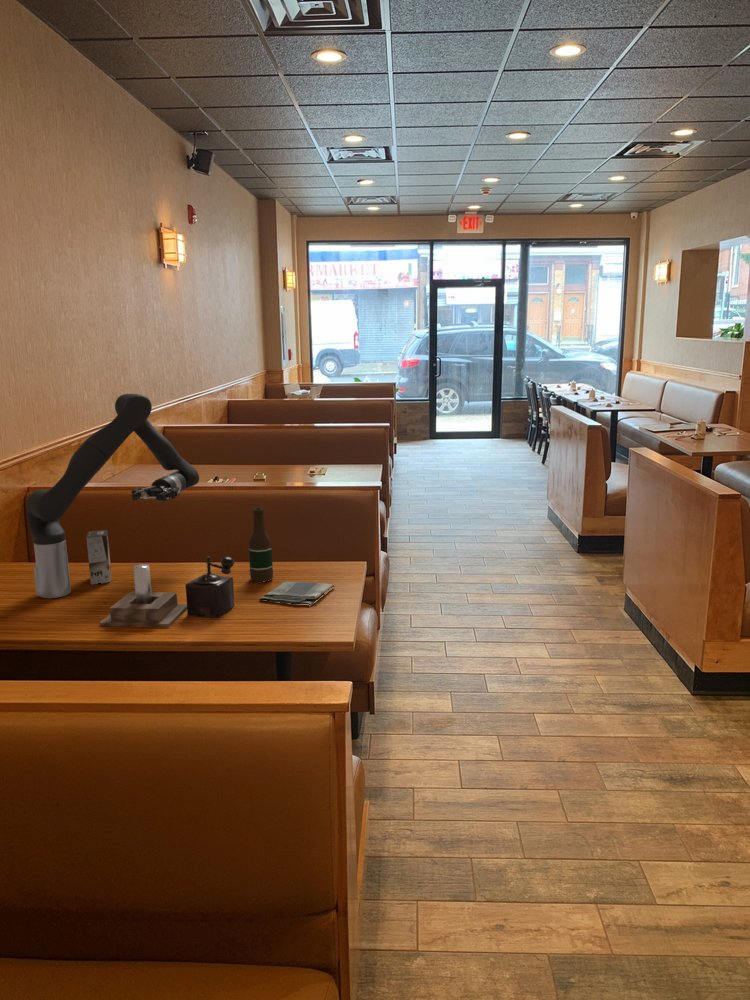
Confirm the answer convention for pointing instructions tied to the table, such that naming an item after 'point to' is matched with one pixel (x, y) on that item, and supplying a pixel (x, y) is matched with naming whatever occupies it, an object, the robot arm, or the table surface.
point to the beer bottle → (260, 550)
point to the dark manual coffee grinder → (211, 591)
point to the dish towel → (297, 592)
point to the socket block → (145, 611)
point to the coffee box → (98, 556)
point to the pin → (142, 584)
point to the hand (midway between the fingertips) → (147, 497)
